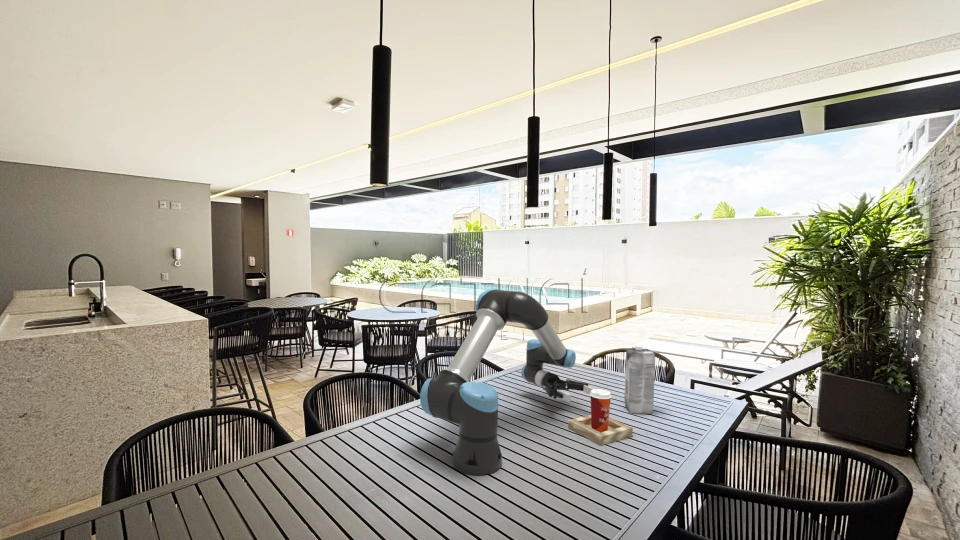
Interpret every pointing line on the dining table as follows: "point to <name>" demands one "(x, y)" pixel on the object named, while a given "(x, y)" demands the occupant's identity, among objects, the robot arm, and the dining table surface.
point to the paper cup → (600, 409)
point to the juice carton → (639, 380)
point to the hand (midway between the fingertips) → (583, 395)
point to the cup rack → (612, 434)
